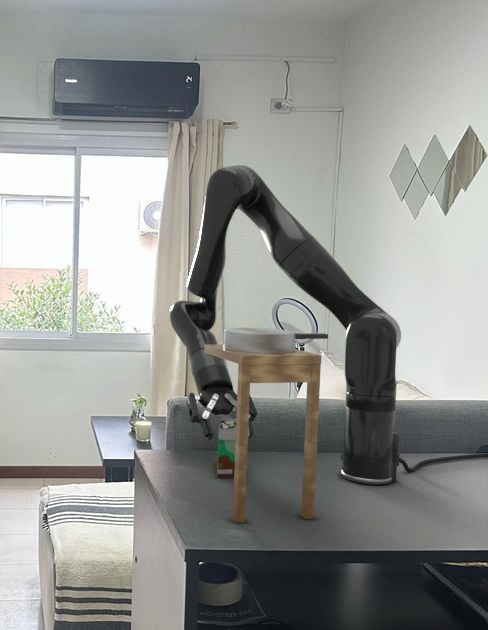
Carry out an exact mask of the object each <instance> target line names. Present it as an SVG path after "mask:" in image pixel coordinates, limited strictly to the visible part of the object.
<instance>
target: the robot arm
mask: <svg viewBox="0 0 488 630" xmlns="http://www.w3.org/2000/svg"><path fill="white" fill-rule="evenodd" d="M204 195H205V196H204V204H203V210H202V211H203V213H202V219H201V226H200V231H199V239H198V243H197V246H196V247H197V248H196V250H195V251H196V252H195V255H194V258H193V262H192V265H191V269H190V272H189V276H188V279H187V283H186V289H187V291H188V292H189V293H190V294H192V295H194V296H196V297H199V298H200V301H193V300H183V299H182V300H178V301H175V302H174V303H173V304H172V306H171V307H170V309H169V320H170V321H169V322H170V324H171V327H172V329H173V330H174V332H175V334H176V336H177V337H178V338H179V339H180V341H181V343H182V345H184V347H185V348H186V352H187V355H188V359H189V362H190V370H191V374H192V377H193V381H194V383H195V387H196V390H197V393H198V395H195V393H194V392H189V394H188V395H187V398H186V400H185V402H186V408H187V413H188V418H189V422H190V423H192V424H194V423H197V424H199V425H200V428H201V432H202V435H203V437H204V438H206V440H207V441H212V439H213V438H214V430H213V426H212V424H211V421H210V419H208V418H209V416H210V414H213V415H214V416H219V415H223V416H231V418H232V419H236V417H237V393H236V392H235V390H234V385H233V381H232V379H231V375H230V373H229V370H228V367H227V363H226V360H225V359H222V358H219V357H216V356H213V355H210V354H207V353H204V345H205V344H219V342H218V339H217V337H216V335H215V334H214V333H213V332H212V331H211V330H212V329H213V328H214V326H215V324H216V321H217V300H218V290H219V287H220V286H219V285H220V284H221V280H222V277H223V275H224V270H225V266H226V261H227V246H226V245H227V243H226V242H227V234H228V229H229V225H230V223H231V221H232V218H233V216H234V214H235V212H236V211H237V210H239V211H241V212H242V213H243V214H244V215H245V216H246V217H248V219H249V220H250V221H251V222H252V223H253V224H254V225H255V226H256V227H257V229H258V230H259V231H260V233H261V235H262V237H263V239H264V242H265V244H266V247H267V249H268V251H269V254H270V256H271V258H272V260H273V261H274V263H275V264H276V265H277V266H278V267H279V268H280V270H281V271H282V272H283V273H284V275H286V276H287V278H288V279H290V280H291V282H292V283H293V284H294V285H296V286H297V287H298V288H299V289H301V290H302V291H303V292H304V293H306V294H307V295H308V296H310V298H312V299H314V300H315V301H316V302H318V303H319V304H320V305H322V306H323V307H325V308H326V309H327V310H328V311H329V312H330V313H331V314H332V315H333V316H334V317H335V318H336V320H338V322H339V323H340V324H341V326H342V327H343V328H344V329H345V331H346V335H345V346H344V348H345V349H344V354H345V355H344V380H345V403H344V404H345V406H344V423H343V424H344V426H343V443H342V445H343V446H342V447H343V448H342V454H340V461H342V465H341V468H342V469H341V474H340V475H341V477H342V478H344V479H346V480H348V481H350V482H354V483H359V484H365V485H378V486H380V485H388V484H391V483H392V482H397V471H398V467H399V466H400V464H401V465H402V467H403V469H404V471H406V472H408V473H413V472H415V471H417V470H419V468H421V467H423V466H424V465H429V464H433V463H441V462H450V461H457V460H458V461H459V460H468V459H479V458H480V459H482V458H488V452H483V453H471V454H459V455H451V456H443V457H435V458H429V459H424V460H420V461H419V462H417V463H416V464H414V466H413V467H410V466H409V465H408V463H407V461H405V460H404V459H403V458H402V457H400V453H399V434H398V432H396V431H395V425H396V423H395V422H396V405H397V404H396V403H397V390H398V389H397V387H398V386H397V385H398V384H397V376H396V364H397V348H399V346H400V344H401V340H402V330H401V327H400V325H399V323H398V322H397V320H396V319H395V318H394V317H393V316H392V315H390V314H389V313H388V312H387V311H385V310H384V309H383V308H381V306H379V305H378V304H377V303H376V302H375V301H374V300H373V299H371V298H370V297H369V296H368V295H367V294H365V293H364V291H362V290H361V289H360V288H359V287H358V285H357V284H356V283H355V282H354V281H353V280H352V278H351V277H350V276H349V274H348V273H347V272H346V271H345V270H344V268H343V267H342V266H341V265H340V264H339V262H338V261H337V260H336V259H335V258H334V257H333V256H332V254H331V253H330V252H329V251H328V249H326V247H324V245H323V244H321V242H320V241H319V240H318V239H317V238H316V237H315V236H314V235H313V234H312V233H310V231H309V230H308V229H306V227H305V226H304V225H302V223H301V222H300V221H299V219H297V218H296V217H295V216H294V215H293V214H292V213H291V212H290V211H289V210H288V209H287V208H286V207H285V206H284V205H283V204H282V203H281V201H279V199H278V198H277V197H276V196H275V194H274V193H273V191H272V190H271V188H269V186H268V185H267V184H266V182H265V181H264V179H263V178H262V177H261V176H260V175H259V174H258V173H257V172H256V170H254V169H253V168H251V167H250V166H247V165H241V164H237V165H229V166H223V167H220V168H218V169H216V170H215V171H214V172H213V173H212V174H211V175H210V177H209V178H208V181H207V185H206V191H205V194H204ZM198 403H199V404H200V405H202V407H204V408H205V409H204V411H203V413H202V414H201V413H199V408H198ZM234 409H235V410H234ZM258 414H259V413H258V411H257V408H256V406H255V404H254V401H253V398H252V396H251V395H250V398H249V424H248V427H249V433H250V436H249V437H248V440H250V439H251V438H252V437H253V435H254V432H255V429H254V426H253V424H252V422H254V421H255V419H256V417H257V416H258Z"/></svg>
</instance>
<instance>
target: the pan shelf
mask: <svg viewBox="0 0 488 630" xmlns="http://www.w3.org/2000/svg"><path fill="white" fill-rule="evenodd" d="M327 339H329V334H328V333H322V332H318V333H316V332H313V333H310V332H309V333H308V332H307V333H303V332H302V333H299V332H298V333H297V332H296V331H294V330H287V329H278V328H264V327H229V328H224V330H223V344H219V343H218V344H205V345H204V353H207V354H210V355H213V356H216V357H219V358H222V359H224V361H229V362H232V363H235V364H238V366H237V390H236V392H237V393H236V394H237V417H236V418H235V419H236V443H235V470H234V477H233V495H232V496H233V499H232V521H234V523H236V524H240V523H242V524H243V523H245V522H246V499H247V498H246V497H247V473H248V472H247V471H248V470H247V469H248V449H249V446H248V445H249V439H248V424H249V398H250V396H251V384H283V383H284V384H285V383H289V384H290V383H291V384H292V383H293V384H295V383H297V384H298V383H306V400H305V401H306V402H305V421H304V422H305V423H304V427H305V428H304V442H303V443H304V444H303V445H304V447H303V465H302V466H303V467H302V491H301V509H300V510H301V512H300V513H301V514H300V516H301V517H302V518H303V519H305V520H313V519H314V518H315V501H316V500H315V499H316V498H315V497H316V480H317V479H316V477H317V476H316V475H317V456H318V455H317V452H318V435H319V411H320V388H321V371H322V370H321V369H322V368H321V367H322V357H323V356H322V355H321V354H318V353H313V352H309V351H305V350H302V349H301V350H300V349H297V348H296V340H327Z"/></svg>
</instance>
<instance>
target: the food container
mask: <svg viewBox="0 0 488 630" xmlns="http://www.w3.org/2000/svg"><path fill="white" fill-rule="evenodd" d="M249 436H250V433H249V427H248V437H249ZM217 438H218V439H217V440H218V441H217V462H216V463H217V464H216V465H217V466H216V477H217V478H222V479H225V478H229V479H230V478H234V470H235V443H236V418H233V417H231V418H230V417H225V416H219V417H218V437H217Z"/></svg>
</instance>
